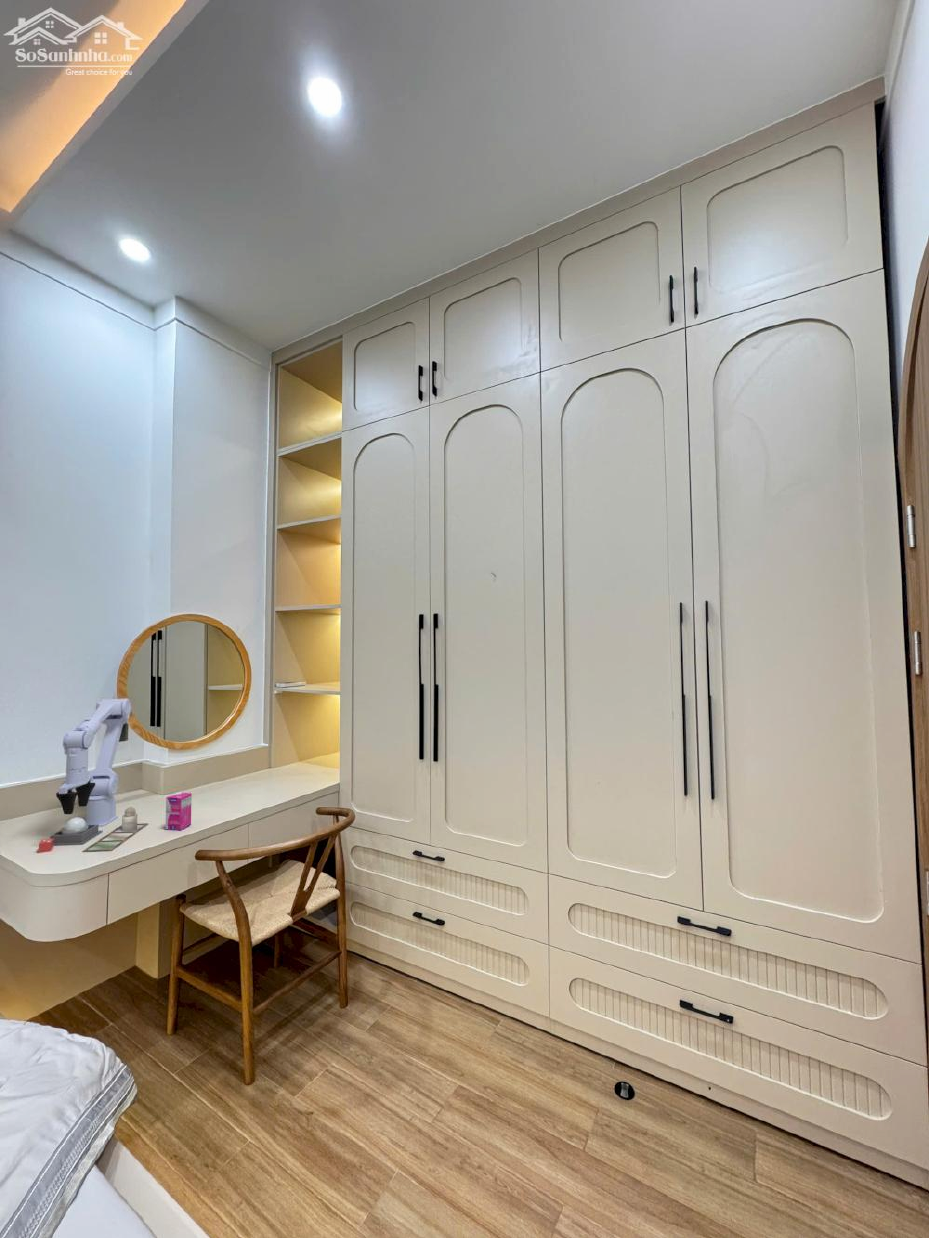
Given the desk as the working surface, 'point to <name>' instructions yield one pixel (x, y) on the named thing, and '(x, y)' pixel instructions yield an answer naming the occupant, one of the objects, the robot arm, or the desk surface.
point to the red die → (46, 845)
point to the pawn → (129, 819)
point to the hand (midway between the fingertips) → (75, 809)
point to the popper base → (75, 837)
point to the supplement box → (178, 811)
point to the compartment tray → (113, 839)
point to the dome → (75, 826)
